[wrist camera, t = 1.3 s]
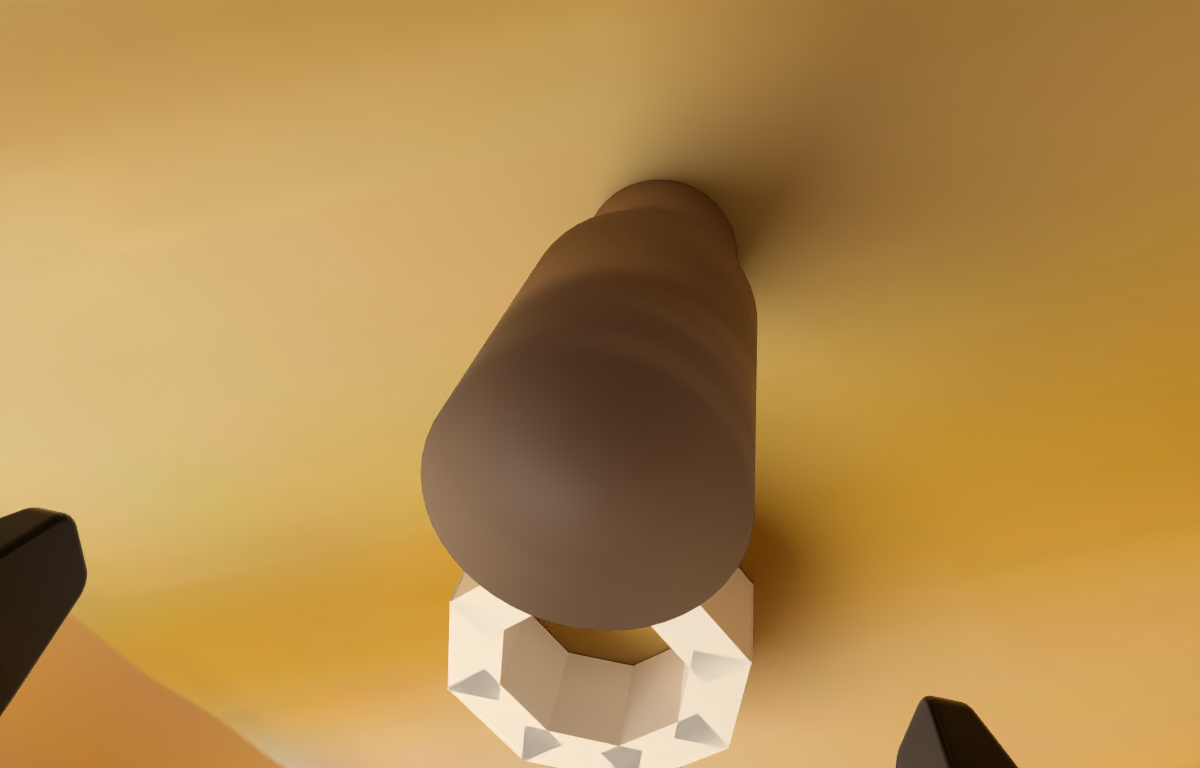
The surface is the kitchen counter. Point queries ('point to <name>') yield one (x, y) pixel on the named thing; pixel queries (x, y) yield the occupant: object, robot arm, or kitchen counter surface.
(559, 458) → the walnut peg
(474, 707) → the socket collar
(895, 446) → the kitchen counter surface
